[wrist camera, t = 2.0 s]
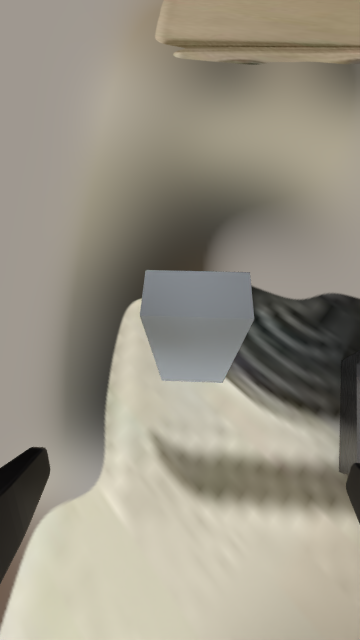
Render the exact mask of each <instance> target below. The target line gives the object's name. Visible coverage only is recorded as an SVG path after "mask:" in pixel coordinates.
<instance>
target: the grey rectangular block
mask: <svg viewBox="0 0 360 640" xmlns="http://www.w3.org/2000/svg"><path fill="white" fill-rule="evenodd" d="M140 317H141V320H142V323H143V326H144V329H145V332H146V335H147V338H148V341H149V344H150V347H151V350H152V353H153V356H154V358H155V361H156V364H157V367H158V370H159V373H160V376H161V379H162V380H166V381H192V382H218V383H222V382H223V380H224V378H225V376H226V374H227V372H228V370H229V368H230V366H231V364H232V362H233V360H234V358H235V356H236V354H237V352H238V350H239V348H240V346H241V344H242V342H243V340H244V338H245V336H246V334H247V333H248V331H249V329H250V327H251V325H252V323H253V321H254V311H253V300H252V289H251V279H250V272H208V271H160V270H146V273H145V280H144V288H143V296H142V304H141V311H140Z"/></svg>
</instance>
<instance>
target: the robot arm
mask: <svg viewBox="0 0 360 640" xmlns="http://www.w3.org/2000/svg"><path fill="white" fill-rule="evenodd" d="M49 474H50V464H49V459H48V454H47V450H46V449H45V448H43V447H31V448H29V449H28V450H26V451H25V452H23V453H22V454H20V455H19V456H17V457H16V458H14V459H13V460H12V461H10V462H8V463H7V464H6V465H4V466H3V467H1V468H0V584H1V581H2V580H3V578H4V576H5V574H6V572H7V570H8V568H9V566H10V564H11V562H12V560H13V558H14V556H15V554H16V552H17V550H18V548H19V546H20V544H21V542H22V540H23V538H24V536H25V534H26V531H27V529H28V527H29V525H30V522H31V520H32V517H33V515H34V512H35V510H36V507H37V505H38V502H39V500H40V497H41V495H42V492H43V490H44V487H45V485H46V483H47V480H48V478H49ZM346 490H347V493H348V496H349V498H350V501H351V503H352V506H353V508H354V511H355V513H356V516H357V518H358V521H359V523H360V463H353V464H352V465H351V468H350V472H349V475H348V479H347V482H346Z"/></svg>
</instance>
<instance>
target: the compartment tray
mask: <svg viewBox="0 0 360 640" xmlns="http://www.w3.org/2000/svg"><path fill="white" fill-rule="evenodd" d="M353 463H360V350H359V351H357V352H356V353H354V354H352V355H351V356H349V357H347V358H346V359H344V360H342V366H341V412H340V458H339V472H341V473H344V474H347V475H349V472H350V468H351V465H352V464H353Z"/></svg>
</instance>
